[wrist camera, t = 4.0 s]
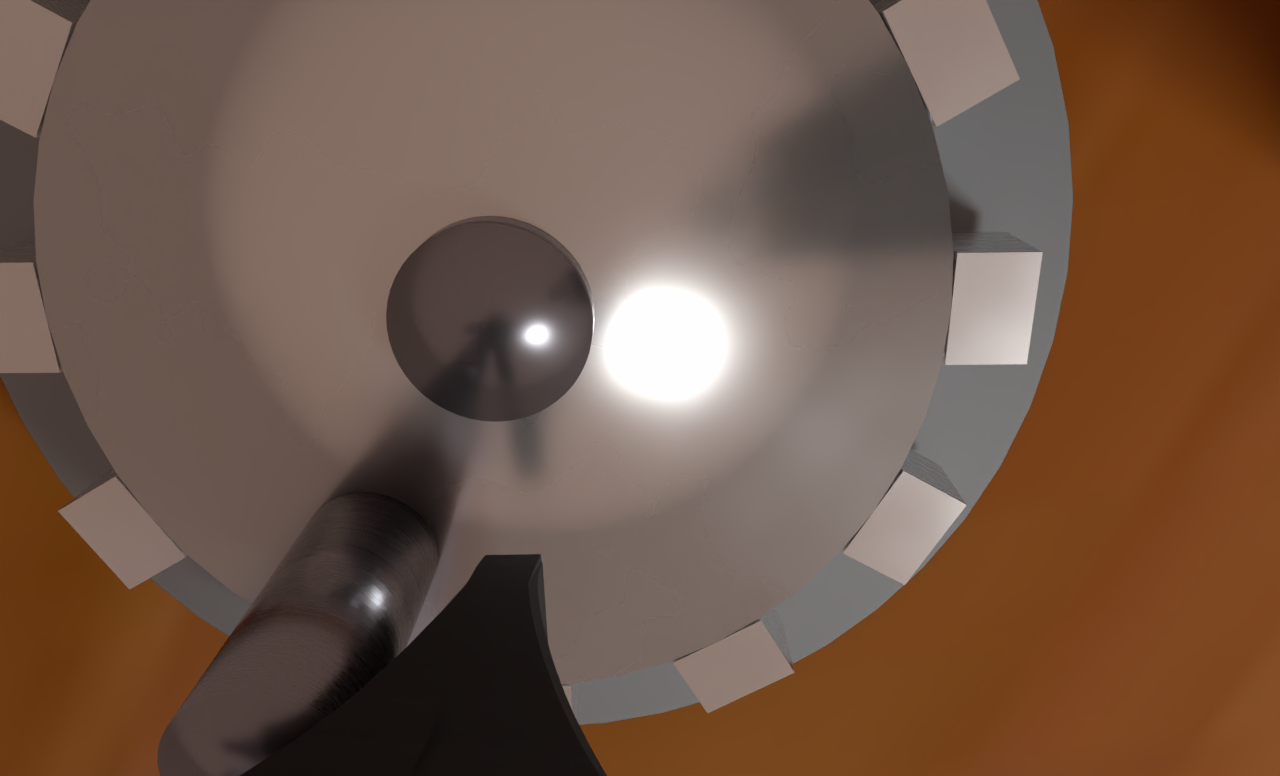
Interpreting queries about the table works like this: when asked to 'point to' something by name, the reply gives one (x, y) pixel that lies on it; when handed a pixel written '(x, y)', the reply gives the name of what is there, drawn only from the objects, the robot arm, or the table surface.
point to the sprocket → (500, 315)
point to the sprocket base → (950, 436)
